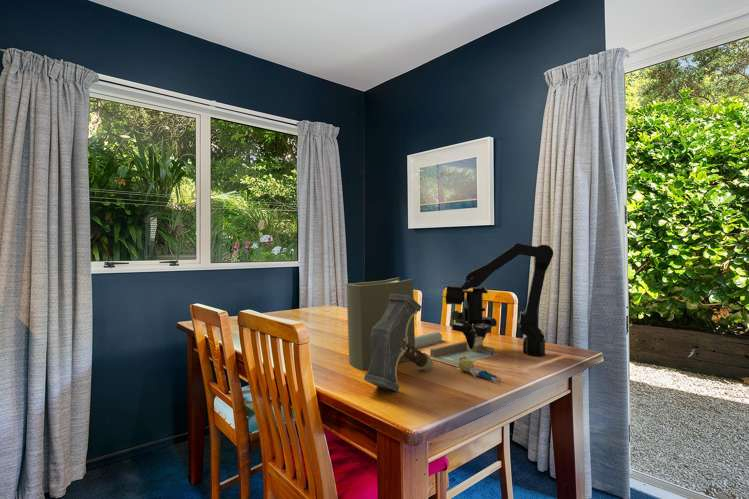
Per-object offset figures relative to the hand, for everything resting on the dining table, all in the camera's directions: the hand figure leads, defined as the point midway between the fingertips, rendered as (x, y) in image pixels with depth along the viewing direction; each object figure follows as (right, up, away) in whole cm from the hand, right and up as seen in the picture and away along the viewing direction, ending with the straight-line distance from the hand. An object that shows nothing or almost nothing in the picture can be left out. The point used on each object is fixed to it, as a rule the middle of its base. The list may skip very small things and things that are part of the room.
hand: (474, 347), depth 152 cm
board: (-5, -2, -6) cm, 8 cm away
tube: (-19, -2, +9) cm, 21 cm away
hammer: (-28, -3, -31) cm, 42 cm away
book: (-35, -3, -11) cm, 36 cm away
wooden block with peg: (+2, -1, -2) cm, 3 cm away
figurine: (-5, -3, -26) cm, 27 cm away
